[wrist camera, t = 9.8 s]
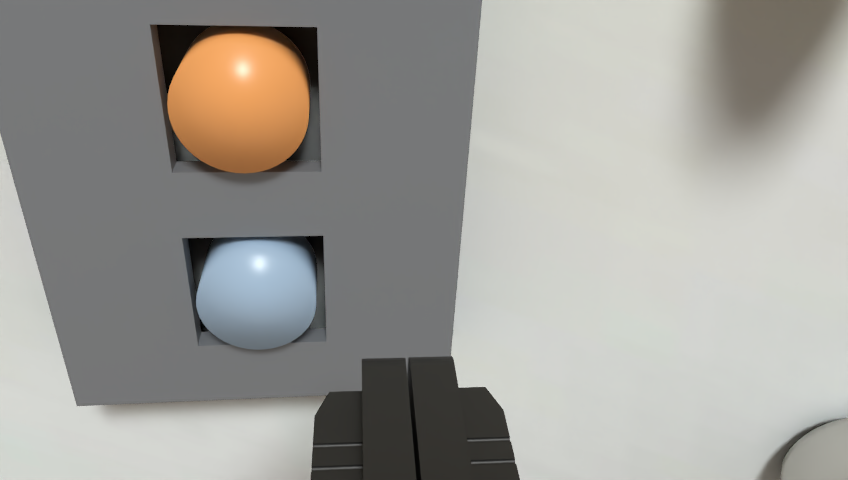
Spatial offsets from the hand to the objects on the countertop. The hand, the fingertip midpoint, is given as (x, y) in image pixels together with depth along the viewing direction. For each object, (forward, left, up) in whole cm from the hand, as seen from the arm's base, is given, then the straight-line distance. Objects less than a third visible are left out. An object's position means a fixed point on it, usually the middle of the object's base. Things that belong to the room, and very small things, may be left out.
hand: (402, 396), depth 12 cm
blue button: (+4, +7, -14) cm, 16 cm away
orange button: (+4, 0, -14) cm, 14 cm away
